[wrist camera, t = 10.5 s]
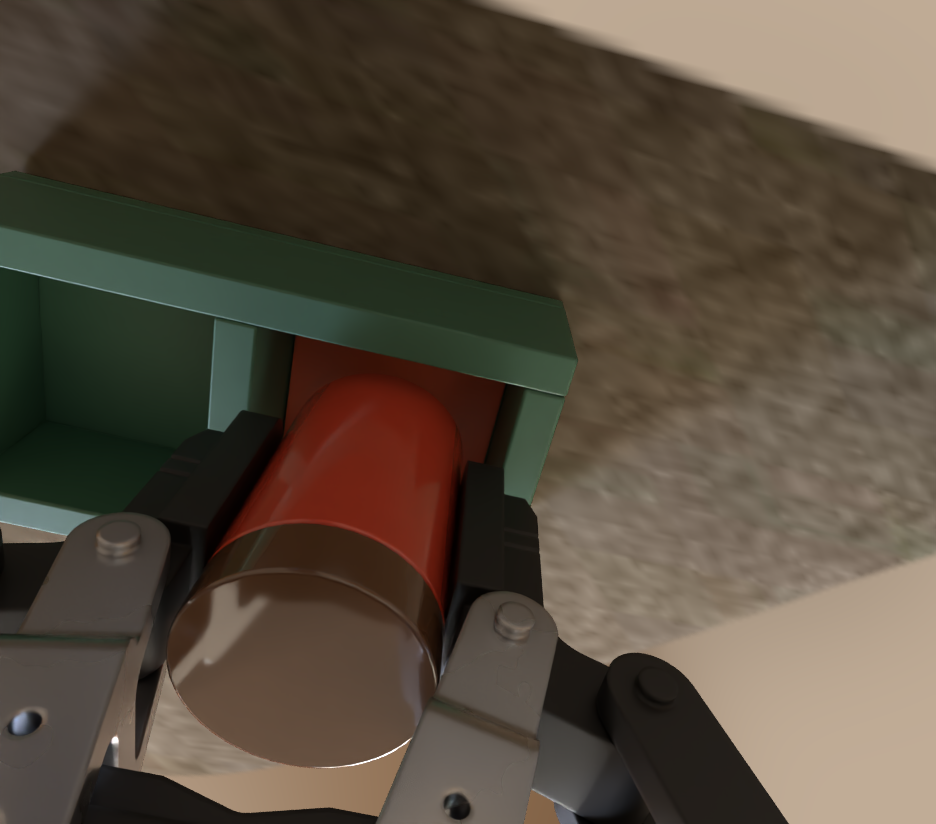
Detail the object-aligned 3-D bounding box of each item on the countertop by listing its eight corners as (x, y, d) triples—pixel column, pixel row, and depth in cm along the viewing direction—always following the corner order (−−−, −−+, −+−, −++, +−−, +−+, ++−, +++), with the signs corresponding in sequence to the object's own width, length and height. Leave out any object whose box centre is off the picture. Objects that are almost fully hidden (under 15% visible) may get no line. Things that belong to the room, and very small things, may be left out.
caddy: (14, 169, 15) (-123, 195, 12) (563, 300, 16) (579, 359, 12) (32, 429, 18) (-73, 508, 14) (494, 529, 18) (492, 626, 15)
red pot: (302, 353, 13) (166, 542, 8) (481, 394, 14) (465, 604, 8) (283, 502, 15) (160, 742, 10) (443, 536, 15) (410, 791, 10)
